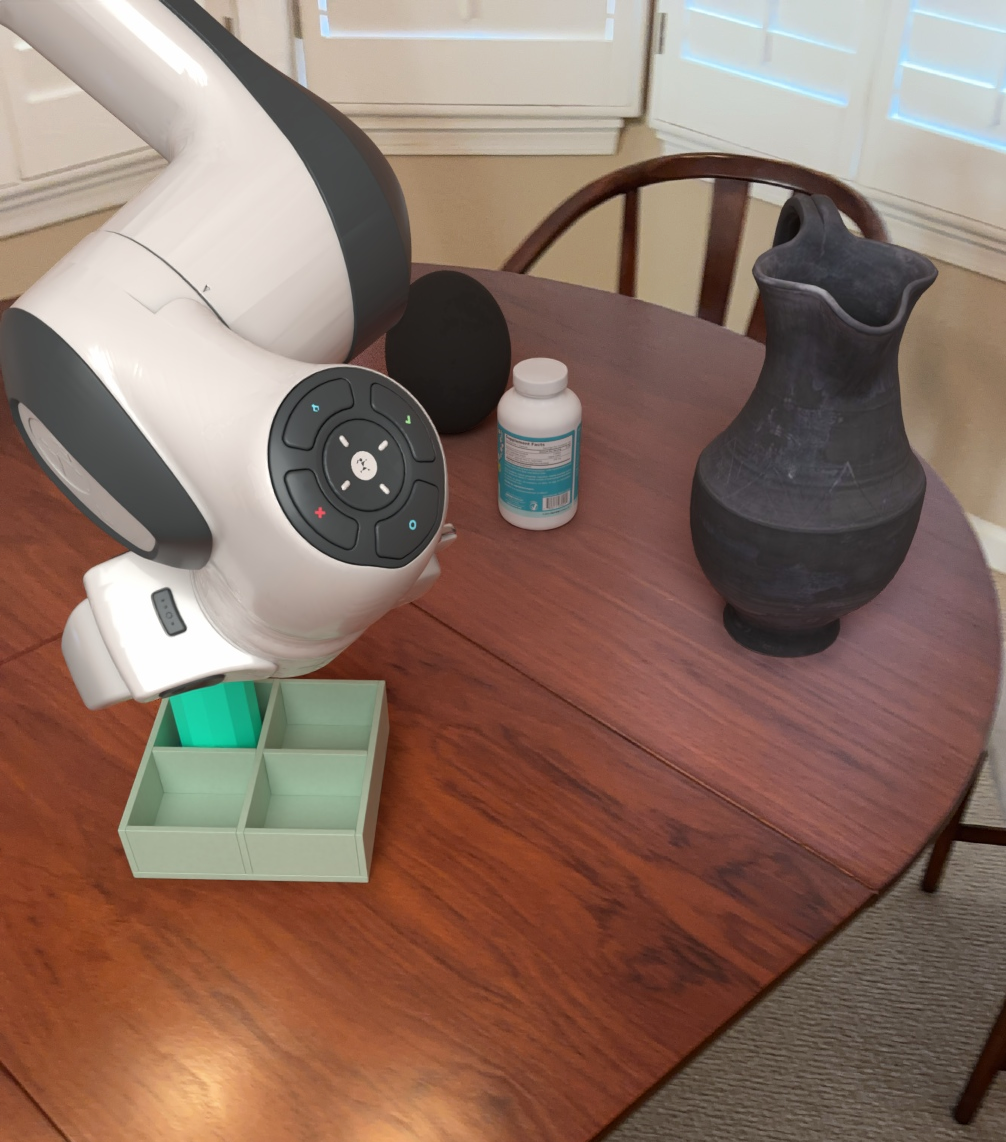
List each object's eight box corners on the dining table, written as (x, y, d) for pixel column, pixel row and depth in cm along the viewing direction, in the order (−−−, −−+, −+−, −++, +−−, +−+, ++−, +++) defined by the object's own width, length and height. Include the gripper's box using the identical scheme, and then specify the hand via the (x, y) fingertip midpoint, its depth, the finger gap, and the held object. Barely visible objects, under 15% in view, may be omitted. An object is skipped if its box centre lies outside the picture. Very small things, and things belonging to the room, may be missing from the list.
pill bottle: (522, 484, 114) (524, 342, 104) (590, 504, 111) (599, 361, 101) (482, 520, 109) (481, 376, 99) (553, 542, 107) (558, 397, 97)
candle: (216, 718, 89) (184, 582, 80) (283, 741, 88) (258, 604, 79) (168, 766, 86) (129, 629, 77) (236, 791, 84) (204, 654, 75)
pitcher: (705, 698, 92) (770, 299, 70) (643, 552, 106) (681, 179, 84) (916, 676, 94) (1045, 281, 72) (828, 535, 108) (914, 166, 85)
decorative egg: (520, 404, 124) (522, 252, 113) (499, 463, 116) (499, 305, 105) (405, 394, 126) (396, 243, 115) (377, 452, 118) (364, 295, 106)
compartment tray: (133, 878, 80) (117, 830, 76) (182, 724, 90) (169, 676, 87) (368, 883, 79) (362, 835, 76) (389, 728, 90) (385, 680, 86)
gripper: (444, 461, 60) (373, 541, 73) (48, 580, 53) (47, 645, 66) (489, 579, 61) (412, 637, 74) (105, 712, 54) (93, 750, 67)
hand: (237, 642), depth 70 cm, fingers open, 8 cm apart
